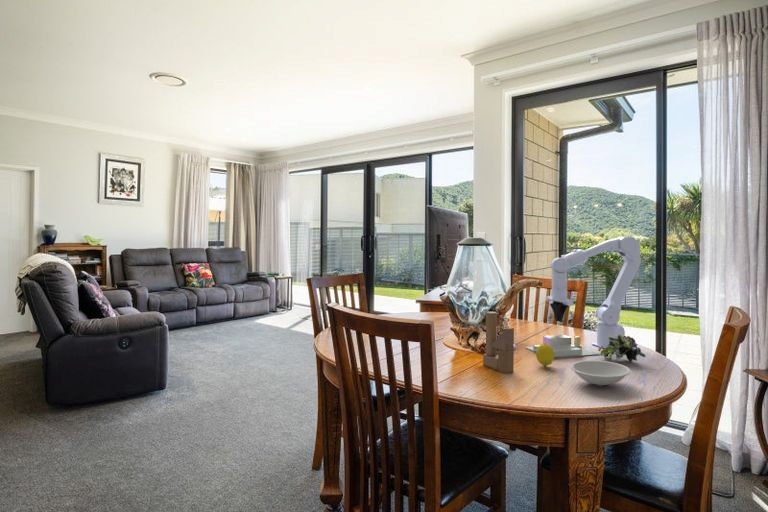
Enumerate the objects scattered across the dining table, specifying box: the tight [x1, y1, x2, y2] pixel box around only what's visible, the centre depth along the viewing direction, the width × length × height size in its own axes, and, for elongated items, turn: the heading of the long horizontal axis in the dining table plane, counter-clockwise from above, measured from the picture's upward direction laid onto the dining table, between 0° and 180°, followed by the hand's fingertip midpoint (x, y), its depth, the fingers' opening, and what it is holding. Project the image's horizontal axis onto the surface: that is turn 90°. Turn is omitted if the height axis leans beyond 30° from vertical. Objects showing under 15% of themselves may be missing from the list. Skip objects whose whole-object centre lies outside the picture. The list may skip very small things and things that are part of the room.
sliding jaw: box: [532, 335, 583, 352], centre depth 156 cm, size 20×2×4 cm, turn 103°
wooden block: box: [482, 311, 515, 374], centre depth 135 cm, size 4×11×18 cm, turn 26°
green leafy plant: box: [598, 335, 646, 363], centre depth 142 cm, size 11×11×12 cm
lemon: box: [535, 343, 555, 368], centre depth 136 cm, size 6×6×8 cm
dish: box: [570, 360, 631, 387], centre depth 119 cm, size 18×14×5 cm
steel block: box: [542, 334, 572, 349], centre depth 152 cm, size 9×4×6 cm, turn 103°
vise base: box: [524, 343, 601, 359], centre depth 155 cm, size 21×15×2 cm
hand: (558, 320), depth 167 cm, fingers closed
